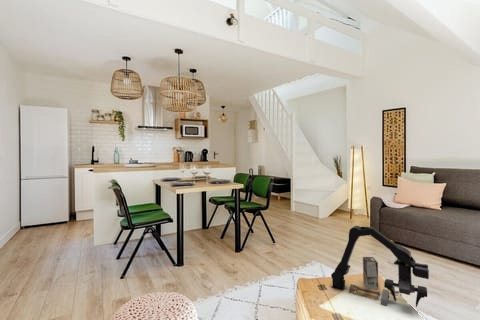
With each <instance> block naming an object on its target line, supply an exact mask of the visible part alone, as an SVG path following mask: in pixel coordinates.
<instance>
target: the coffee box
mask: <svg viewBox="0 0 480 320" xmlns="http://www.w3.org/2000/svg"><path fill="white" fill-rule="evenodd" d="M362 277H363V283H364V285H365V288H368V289H372V290H376V291H378V290H379V262H378V261H377V260H376V259H375V257H374V256H373V257H372V256H362Z"/></svg>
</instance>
